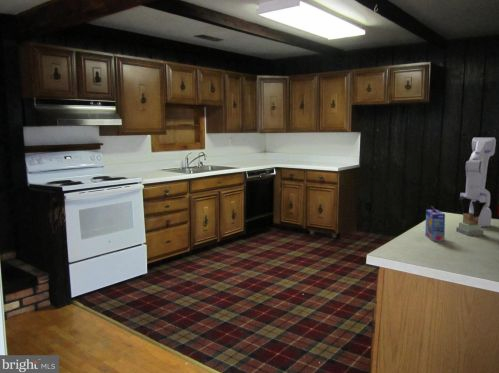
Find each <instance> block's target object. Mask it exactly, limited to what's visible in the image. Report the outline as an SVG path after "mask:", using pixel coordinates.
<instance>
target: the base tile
mask: <svg viewBox="0 0 499 373" xmlns="http://www.w3.org/2000/svg"><path fill="white" fill-rule="evenodd" d="M455 229H456V233H459V234H461V235H462V234H463V235H465V236H466V237H467V236H469V237H470V236H484V233H485V232H484V229H483V230H482V229H481V230H476V231H467V230H464V229H461V228H459V226H456V228H455Z"/></svg>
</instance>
